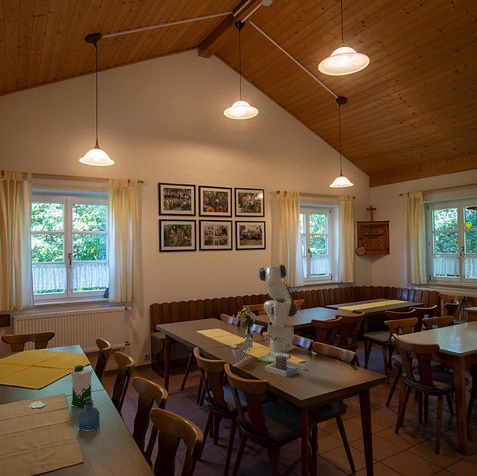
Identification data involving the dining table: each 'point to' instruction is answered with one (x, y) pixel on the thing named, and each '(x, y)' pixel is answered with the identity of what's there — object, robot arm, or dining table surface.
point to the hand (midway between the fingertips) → (280, 344)
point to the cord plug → (281, 362)
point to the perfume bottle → (89, 417)
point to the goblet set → (242, 350)
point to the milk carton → (81, 386)
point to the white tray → (290, 370)
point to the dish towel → (272, 357)
